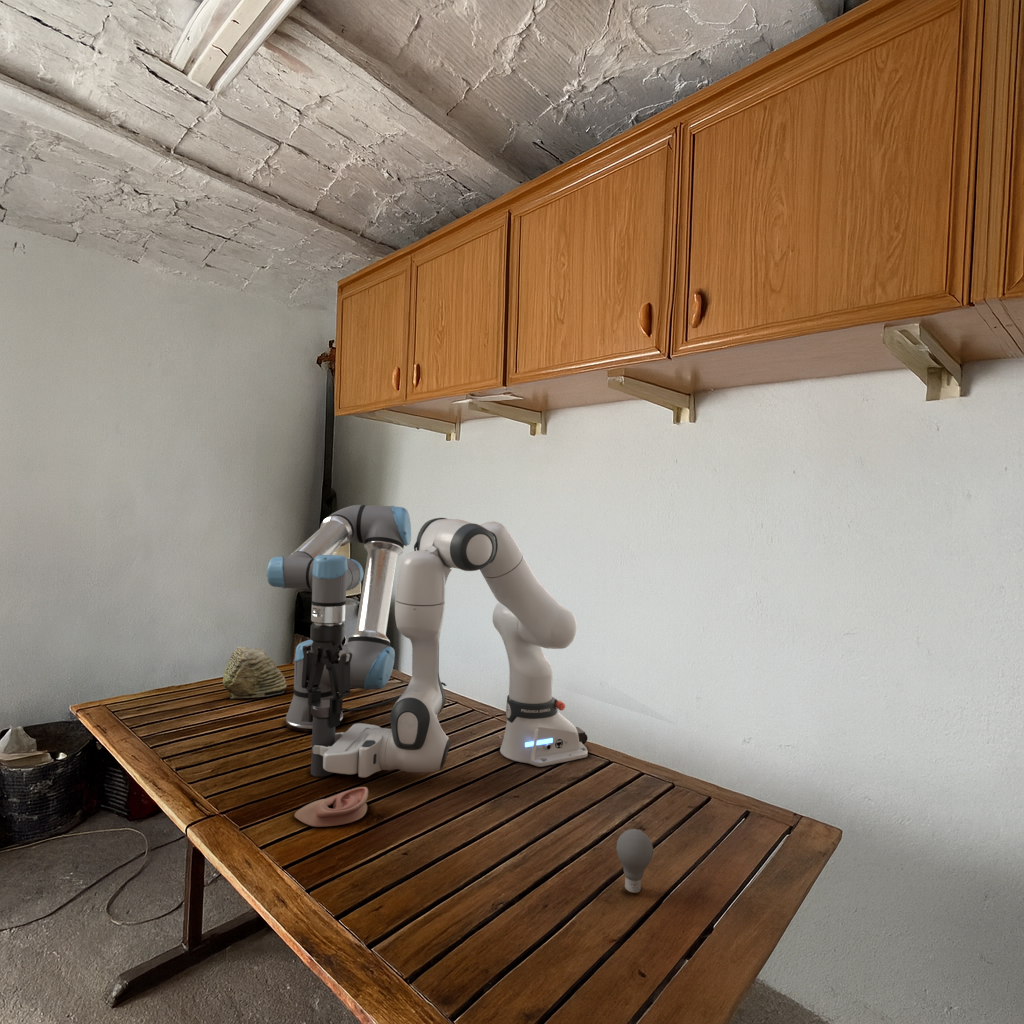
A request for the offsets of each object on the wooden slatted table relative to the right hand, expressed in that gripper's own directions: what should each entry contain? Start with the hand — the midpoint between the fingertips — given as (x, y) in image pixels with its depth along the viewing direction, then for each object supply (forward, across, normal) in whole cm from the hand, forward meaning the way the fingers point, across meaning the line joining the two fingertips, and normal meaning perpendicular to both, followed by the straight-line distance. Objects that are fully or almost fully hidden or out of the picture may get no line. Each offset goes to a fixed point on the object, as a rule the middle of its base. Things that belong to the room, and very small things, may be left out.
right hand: (319, 743), depth 145 cm
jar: (-1, 0, +7) cm, 7 cm away
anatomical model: (-10, +18, +7) cm, 22 cm away
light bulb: (-68, +33, +7) cm, 76 cm away
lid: (-1, 0, -9) cm, 9 cm away
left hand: (-1, 0, -5) cm, 5 cm away
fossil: (+41, -49, +7) cm, 64 cm away
